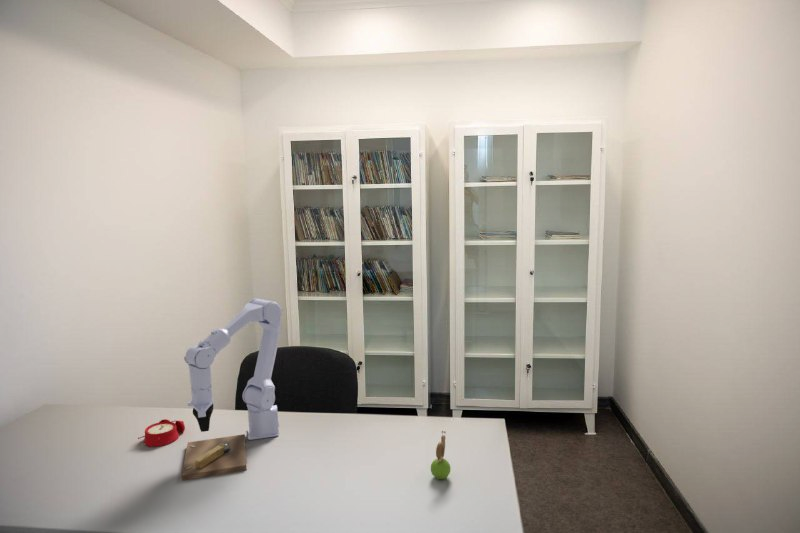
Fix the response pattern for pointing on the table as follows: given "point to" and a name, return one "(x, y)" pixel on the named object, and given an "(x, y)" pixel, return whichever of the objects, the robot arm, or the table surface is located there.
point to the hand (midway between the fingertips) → (204, 430)
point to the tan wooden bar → (212, 454)
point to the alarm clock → (162, 433)
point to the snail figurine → (440, 461)
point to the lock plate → (220, 465)
